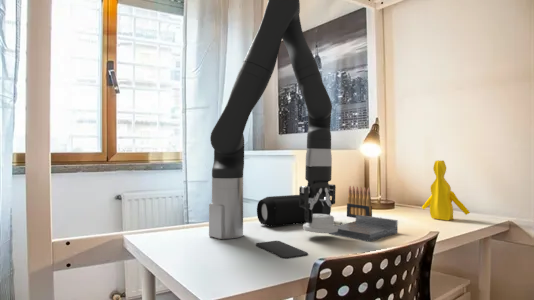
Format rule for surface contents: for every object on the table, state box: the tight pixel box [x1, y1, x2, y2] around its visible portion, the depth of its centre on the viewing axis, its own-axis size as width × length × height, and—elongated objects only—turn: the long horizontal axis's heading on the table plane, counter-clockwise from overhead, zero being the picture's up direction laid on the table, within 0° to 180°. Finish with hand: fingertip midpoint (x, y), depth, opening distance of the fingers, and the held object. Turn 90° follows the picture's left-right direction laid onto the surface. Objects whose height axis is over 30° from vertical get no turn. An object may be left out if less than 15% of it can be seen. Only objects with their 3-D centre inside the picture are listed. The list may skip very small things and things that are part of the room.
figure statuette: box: [421, 160, 471, 221], centre depth 137 cm, size 18×8×22 cm, turn 40°
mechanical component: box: [302, 214, 338, 234], centre depth 106 cm, size 10×4×10 cm
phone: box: [255, 240, 309, 260], centre depth 93 cm, size 7×1×15 cm
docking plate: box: [328, 215, 399, 243], centre depth 113 cm, size 16×14×4 cm
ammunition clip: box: [346, 185, 373, 219], centre depth 140 cm, size 11×2×12 cm, turn 38°
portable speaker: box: [256, 194, 332, 228], centre depth 129 cm, size 26×10×10 cm, turn 118°
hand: (317, 220), depth 107 cm, fingers closed on mechanical component, 7 cm apart
